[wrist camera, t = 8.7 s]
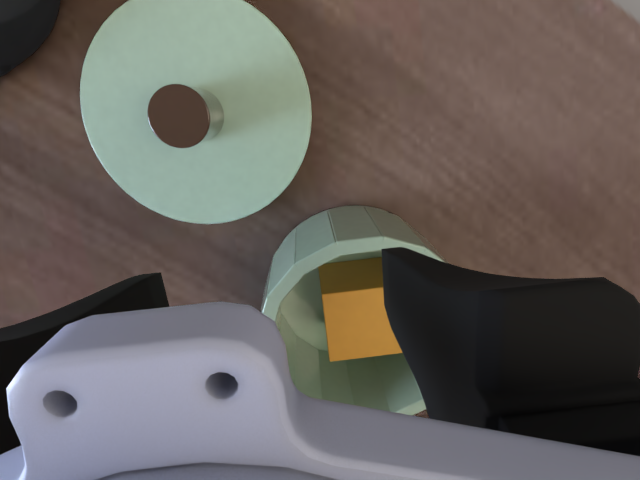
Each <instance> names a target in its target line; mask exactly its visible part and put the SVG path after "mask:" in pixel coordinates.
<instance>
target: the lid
mask: <svg viewBox="0 0 640 480" xmlns="http://www.w3.org/2000/svg"><path fill="white" fill-rule="evenodd" d="M80 102H81V112H82V117H83V121H84V126H85V129H86V132H87V135H88V138H89V141H90V143H91V145H92V147H93V149H94V151H95V153H96V155H97V157H98V159H99V161H100V162H101V164H102V165H103V167H104V168H105V170H106V171H107V172H108V174H109V175H110V176H111V177H112V178H113V180H114V181H115V182H116V183H117V184H118V185H119V186H120V187H121V188H122V189H123V190H124V191H125V192H126V193H127V194H129V195H130V196H131V197H133V198H134V199H135V200H136V201H138V202H139V203H141V204H142V205H144V206H146V207H147V208H149V209H151V210H153V211H155V212H157V213H159V214H162V215H164V216H166V217H169V218H173V219H176V220H179V221H184V222H189V223H198V224H217V223H225V222H230V221H235V220H238V219H241V218H244V217H247V216H249V215H251V214H253V213H255V212H257V211H259V210H261V209H262V208H264V207H265V206H267V205H269V204H270V203H271V202H272V201H273V200H275V199H276V198H277V197H278V196H279V195H280V194H281V193H282V192H283V191H284V190H285V189H286V188H287V186H288V185H289V184H290V183H291V181H292V180H293V178H294V177H295V175H296V174H297V172H298V170H299V168H300V166H301V164H302V162H303V159H304V157H305V154H306V151H307V148H308V143H309V139H310V134H311V123H312V109H311V98H310V93H309V87H308V83H307V80H306V77H305V74H304V71H303V68H302V66H301V64H300V61H299V59H298V57H297V55H296V53H295V52H294V50H293V48H292V47H291V45H290V43H289V42H288V40H287V39H286V38H285V36H284V35H283V34H282V33H281V31H280V30H279V29H278V28H277V27H276V26H275V25H274V24H273V23H272V22H271V21H270V20H269V19H268V18H267V17H266V16H265V15H264V14H263V13H261V12H260V11H259V10H257V9H256V8H255V7H254V6H252V5H251V4H249V3H247V2H245V1H244V0H128V1H127V2H125V3H124V4H123V5H121V6H120V7H119V8H118V9H116V10H115V11H114V12H113V13H112V14H111V15H110V16H109V17H108V18H107V19H106V21H105V22H104V23H103V24H102V26H101V27H100V29H99V30H98V32H97V33H96V34H95V36H94V38H93V40H92V42H91V44H90V46H89V48H88V51H87V54H86V57H85V60H84V64H83V68H82V74H81V80H80Z"/></svg>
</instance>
